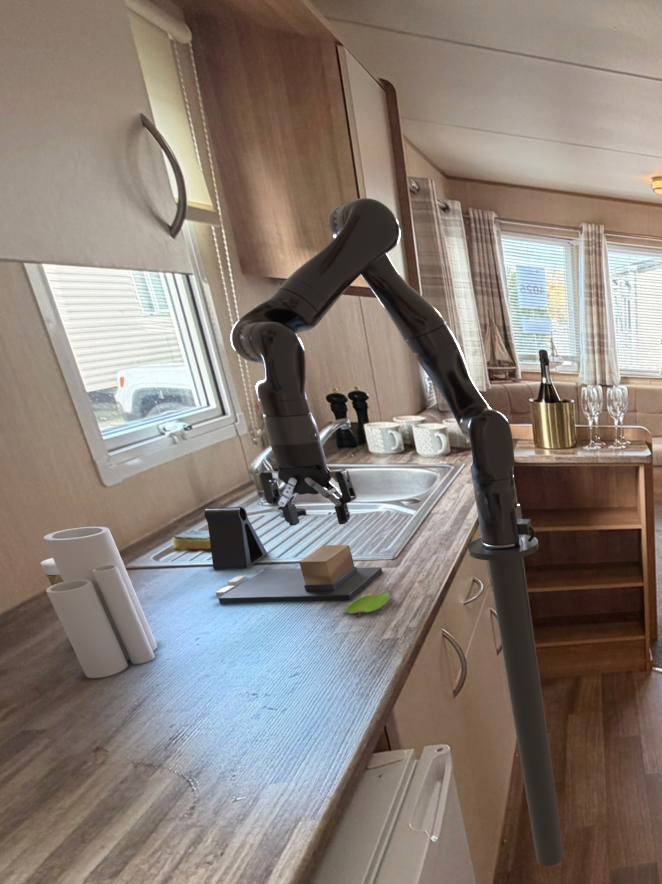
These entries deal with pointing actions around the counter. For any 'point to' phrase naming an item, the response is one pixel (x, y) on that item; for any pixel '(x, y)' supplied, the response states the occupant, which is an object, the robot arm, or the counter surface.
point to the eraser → (327, 568)
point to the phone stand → (232, 538)
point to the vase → (98, 602)
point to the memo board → (295, 587)
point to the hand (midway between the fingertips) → (319, 523)
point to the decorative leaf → (368, 603)
